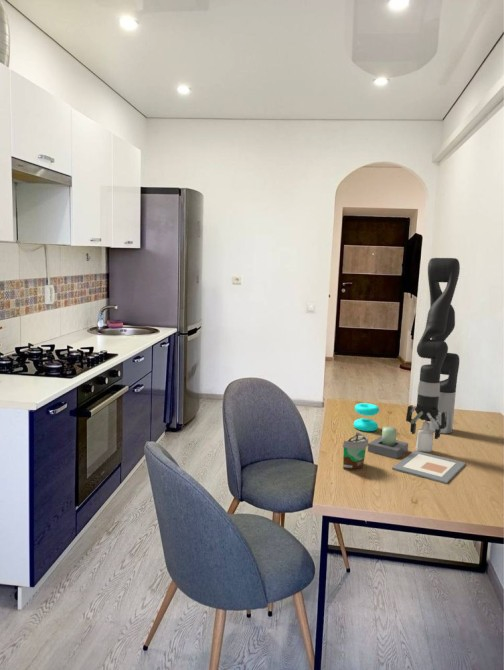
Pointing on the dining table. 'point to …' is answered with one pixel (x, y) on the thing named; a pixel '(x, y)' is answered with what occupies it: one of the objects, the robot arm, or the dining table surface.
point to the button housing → (388, 448)
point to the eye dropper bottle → (424, 438)
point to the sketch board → (429, 466)
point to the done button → (389, 436)
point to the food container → (354, 452)
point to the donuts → (368, 411)
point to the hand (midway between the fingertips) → (424, 436)
